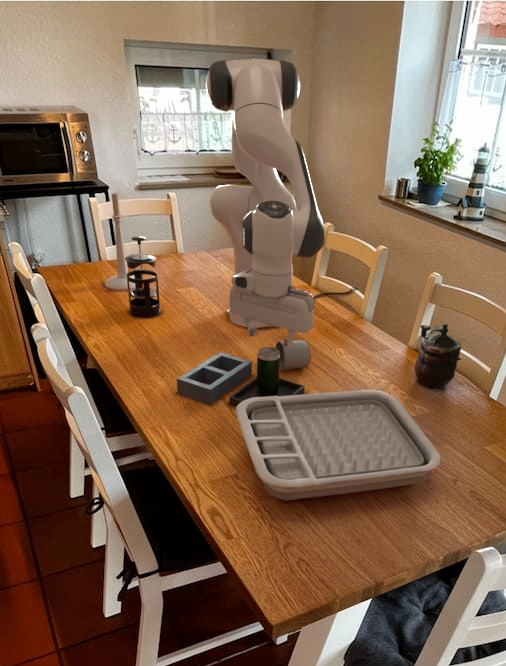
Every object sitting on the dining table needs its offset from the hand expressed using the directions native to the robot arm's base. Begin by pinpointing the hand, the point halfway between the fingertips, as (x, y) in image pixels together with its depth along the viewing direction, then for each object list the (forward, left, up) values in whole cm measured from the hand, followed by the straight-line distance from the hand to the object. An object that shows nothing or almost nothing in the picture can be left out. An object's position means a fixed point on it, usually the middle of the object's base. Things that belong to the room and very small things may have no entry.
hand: (270, 340), depth 135 cm
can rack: (+1, -14, -15) cm, 21 cm away
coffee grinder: (-31, +32, -16) cm, 47 cm away
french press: (-25, -59, -16) cm, 66 cm away
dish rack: (+15, +25, -16) cm, 33 cm away
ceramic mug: (-19, -4, -16) cm, 25 cm away
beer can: (0, 0, -15) cm, 15 cm away
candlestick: (-40, -81, -16) cm, 92 cm away
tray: (0, 0, -15) cm, 15 cm away
